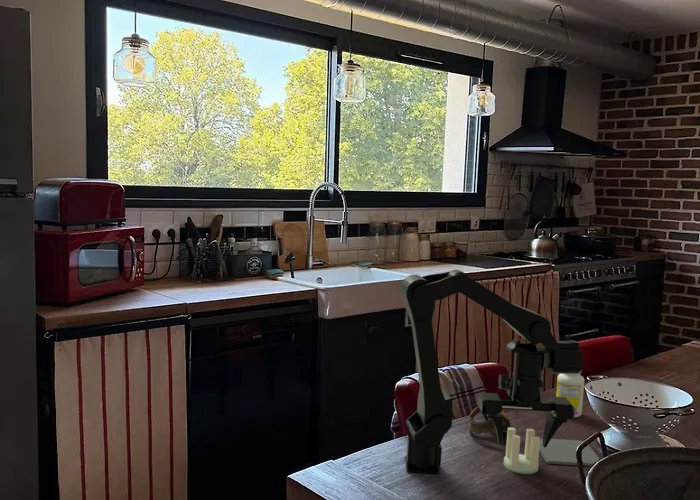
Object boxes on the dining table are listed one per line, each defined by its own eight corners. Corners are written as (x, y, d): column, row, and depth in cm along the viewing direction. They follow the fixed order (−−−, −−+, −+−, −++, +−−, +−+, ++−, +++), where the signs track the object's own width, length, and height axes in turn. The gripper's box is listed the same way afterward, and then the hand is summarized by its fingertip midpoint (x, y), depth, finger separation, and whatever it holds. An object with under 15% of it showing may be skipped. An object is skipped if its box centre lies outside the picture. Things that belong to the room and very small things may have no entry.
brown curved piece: (518, 446, 144) (505, 418, 142) (479, 459, 146) (465, 431, 144) (510, 414, 156) (498, 388, 153) (473, 427, 158) (461, 400, 155)
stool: (507, 472, 130) (510, 438, 129) (500, 458, 137) (503, 425, 136) (542, 475, 130) (545, 441, 129) (533, 460, 137) (536, 427, 136)
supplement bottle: (564, 407, 170) (568, 360, 169) (586, 415, 165) (591, 367, 163) (549, 411, 166) (553, 364, 165) (571, 420, 161) (576, 371, 159)
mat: (547, 463, 135) (547, 460, 135) (532, 440, 147) (532, 437, 147) (604, 466, 135) (604, 464, 135) (584, 443, 147) (585, 440, 147)
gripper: (562, 363, 139) (555, 432, 140) (476, 358, 139) (470, 427, 141) (578, 380, 128) (571, 454, 129) (485, 374, 128) (479, 448, 130)
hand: (522, 445), depth 133 cm, fingers open, 9 cm apart
